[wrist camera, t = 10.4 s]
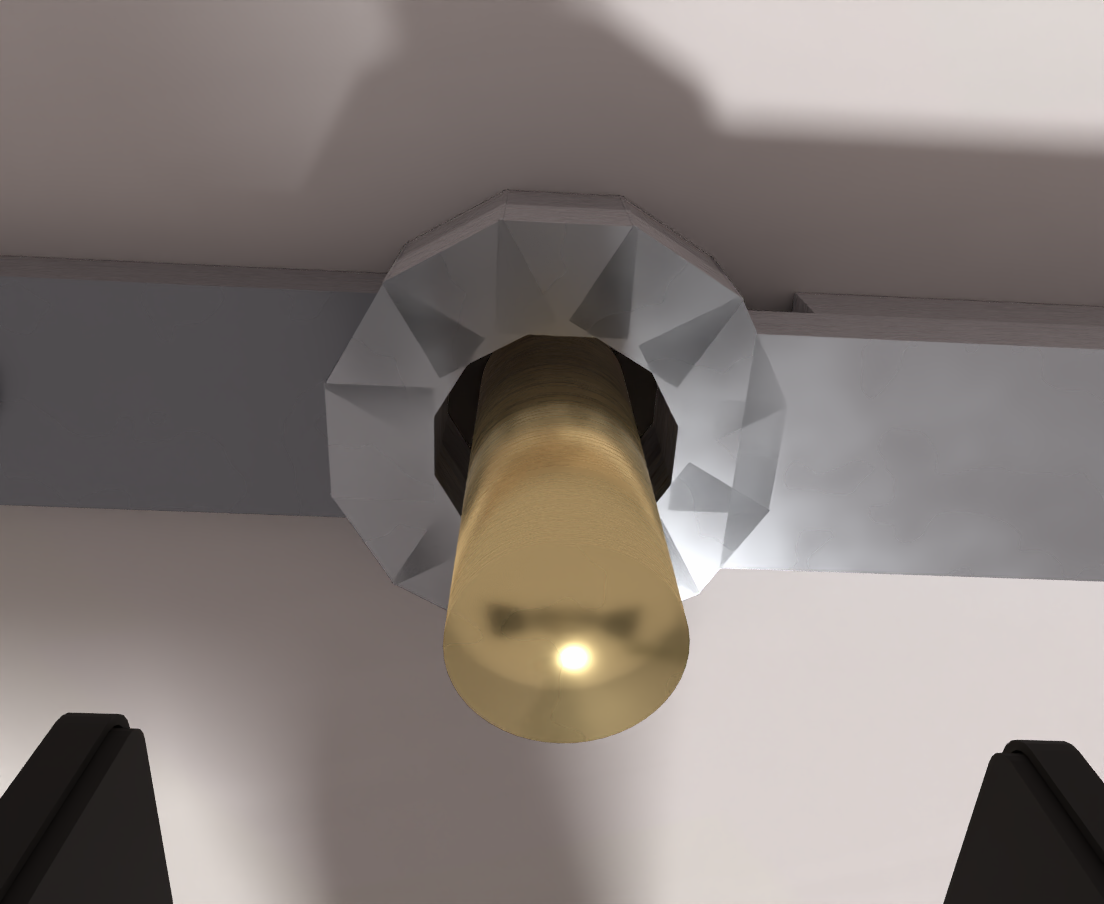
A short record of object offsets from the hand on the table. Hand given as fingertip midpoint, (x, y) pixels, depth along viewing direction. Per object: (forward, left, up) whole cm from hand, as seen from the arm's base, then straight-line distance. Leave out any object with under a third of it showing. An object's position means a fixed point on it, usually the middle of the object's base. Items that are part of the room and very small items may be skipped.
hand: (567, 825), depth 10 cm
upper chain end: (-5, -4, -11) cm, 13 cm away
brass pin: (0, -1, -11) cm, 11 cm away
